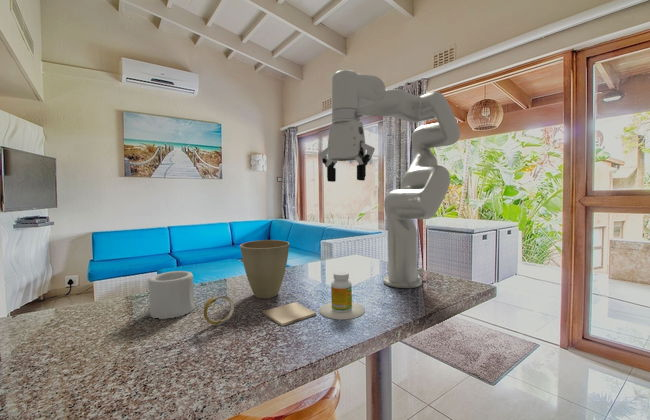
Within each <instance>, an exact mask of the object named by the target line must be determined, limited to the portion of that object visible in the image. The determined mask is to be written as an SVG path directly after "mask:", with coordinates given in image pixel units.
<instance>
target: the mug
mask: <svg viewBox="0 0 650 420" xmlns="http://www.w3.org/2000/svg"><path fill="white" fill-rule="evenodd" d="M147 283H148V284H147V285H148V289H149V292H148V293H149V316H150V317H151V318H153V319H155V318H159V319H158V320H168V319H167V318H171V319H175V317H176V318H180V317H183V316H186V315H187V314H189V313H191V312H192V311H193V310H194V309H195V295H194V294H195V293H194V292H195V291H194V275H193V273H192V272H191V271H185V270H173V271H168V272H167V271H166V272H162V273H157V274H155V275H152V276H150V277H149V279H148V280H147ZM185 314H186V315H185Z"/></svg>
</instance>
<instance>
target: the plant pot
mask: <svg viewBox="0 0 650 420" xmlns="http://www.w3.org/2000/svg"><path fill="white" fill-rule="evenodd" d="M239 248H240V253H241V259H242V262H243V268H244V271H245V274H246V277H247V281H248V284H249V286H250V289H251V292H252V294H253V296H254V297H256V298H258V299H270V298H274V297H277V296H278V294H279V293H280V289H281V287H282V283H283V279H284V276H285V273H286V268H287V263H288V257H289V251H290V242H289V241H285V240H279V239H277V240H276V239H263V240H262V239H261V240H253V241H247V242H243V243H241V244H239Z"/></svg>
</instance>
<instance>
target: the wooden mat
mask: <svg viewBox="0 0 650 420" xmlns="http://www.w3.org/2000/svg"><path fill="white" fill-rule="evenodd" d="M262 314H263V315H264V316H266V317H267V318H269V319H271V321H274V322H275V323H276V324H278V325H280V326H281V327H285V326H287V325H290V324H294V323H296V322H299V321H302V320H305V319H308V318H311V317H314V316H317V312H316V311H314V310H313V309H310V308H308V307H306V306H304V305H302V304H300V303H297V302H296V301H295V302H291V303H290V302H289V303H288V304H284V305H280V306H277V307H273V308H270V309H266V310H264V311H262Z"/></svg>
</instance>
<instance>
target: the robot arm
mask: <svg viewBox="0 0 650 420" xmlns="http://www.w3.org/2000/svg"><path fill="white" fill-rule="evenodd" d="M331 111H332V112H331V124H330V126H329V132H328V140H327V147H326V148H325V149H324V150H322V151H320V153H319V157H320V158H321V161H322V163H323V164H324V165H325V168H327V169H326V174H327V175H326V178H327V182H332V183H335V182H336V181H337V180H336V179H337V178H336V177H337V169H336V167H335V166H336V164H337V163H338V162H348V161H349V162H350V161H356V163H358V164H356V180H357V181H361V182H362V181H363V182H364V181H365V180H366V174H367V172H366V169H367V168H366V167H367V166H368V163H369V162H370V161H371V159H373V157H372V156H373V154H374V152H375V149H376V148H375V147H374V146H371V145H369V144H367V143H366V136H365V129H364V125H363V122H362V121H361V117H364V116H370V117H371V116H373V117H374V116H375V117H393V118H395V119H399V120H401V121H404V122H405V121H406V122H409V123H412V124H413V123H421V122H422V123H423V122H427V121H431V120H436V121H437V122H435V123H434V122H432V123H429V124H424V125H420V126H418V127H417V128H416V129H414V130H413V132H412V134H411V144H412V149H413V155H414V157H413V160H412V162H411V163H410V165H409V167H408V168H407V169H406V172H405V173H404V175H403V177H402V179H401V182H400V183H401V188H400V189H394V190H391V191H390V192H388V193H387V194H386V195H385V198H384V200H383V201H384V202H383V203H384V204H383V207H384V212H385V216H386V217H385V218H386V222H387V224H386V225H387V276H385V277H384V278H383V283H384V284H385V285H387V286H388V287H393V288H397V289H413V288H418V287H421V286H422V284H423V280H422V279H421V278H420V277H419V275H421V274H423V273H424V272H425V269H424V268H423V267H418V232H417V228H416V225H415V223H414V221H413V220H414V219H415V220H429V219H431V218H433V217H434V216H435V215H436V214H437V212H438V210H439V208H440V206H441V205H442V203H443V200H444V199H445V197H446V194H447V193H448V191H449V187H450V184H451V176H450V172H449V170H448V169H447V168H446V167H445V166H443V165H438V159H437V157H436V155H435V154H434V153H433V152H432V150H431V149H432V148H439V147H440V148H441V147H446V146H447V147H448V146H452V145H455V144H456V143H457V142H458V141H459V139H460V137H461V135H460V134H461V130H460V126H459V123H458V120H457V119H456V116H455V114H454V112H453V110H452V108H451V106H450V103H449V102H448V100H447V98H446V97H445V95H444V94H443V93H441V92H439V91H432V92H429V93H426V94H422V95H415V94H413V93H411V92H408V91H405V90H403V89H399V88H391V89H386V85H385V83H384V82H383V80H382V79H381V78H380V77H379V76H376V75H372V74H362V73H357V72H356V71H355V70H351V69H342V70H338V71H336V72H334V74H333V75H332V78H331Z"/></svg>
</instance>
